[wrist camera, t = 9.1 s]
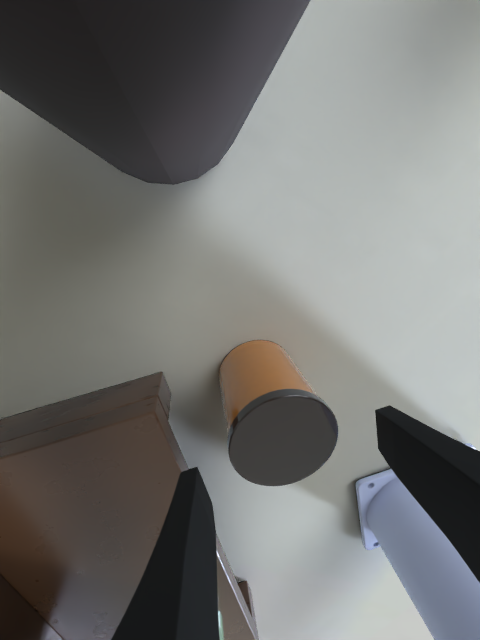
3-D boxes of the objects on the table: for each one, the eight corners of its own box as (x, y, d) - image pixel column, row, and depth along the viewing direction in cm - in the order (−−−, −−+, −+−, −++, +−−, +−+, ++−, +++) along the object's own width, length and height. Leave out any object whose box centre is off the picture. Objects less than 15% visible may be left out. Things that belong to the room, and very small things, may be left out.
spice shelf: (162, 370, 15) (144, 464, 10) (251, 590, 23) (270, 714, 18) (-43, 431, 15) (-198, 572, 9) (121, 636, 23) (96, 781, 17)
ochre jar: (286, 328, 16) (332, 380, 11) (299, 394, 17) (344, 466, 12) (207, 351, 15) (215, 416, 10) (228, 416, 17) (243, 500, 12)
